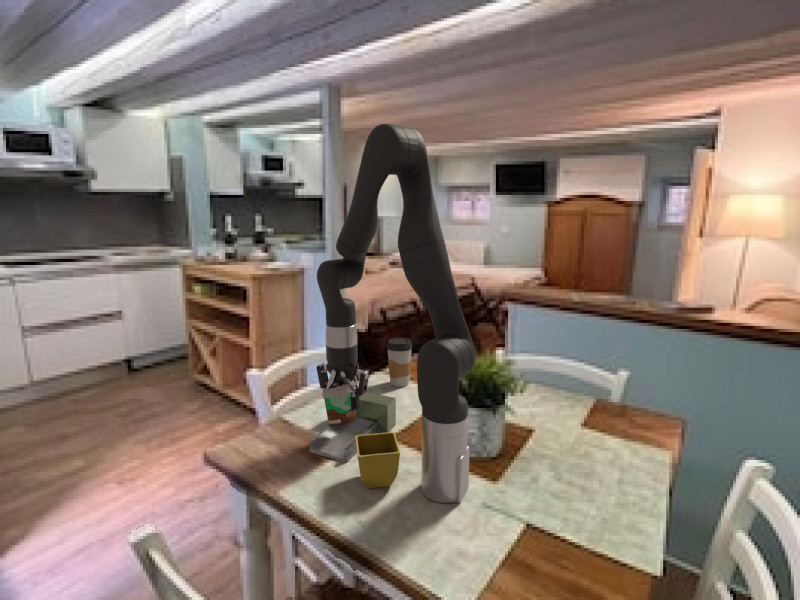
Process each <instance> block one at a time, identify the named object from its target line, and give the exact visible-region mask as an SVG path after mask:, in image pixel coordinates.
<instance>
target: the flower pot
mask: <svg viewBox="0 0 800 600" xmlns="http://www.w3.org/2000/svg"><path fill="white" fill-rule="evenodd" d="M355 439H356V447H357V453H356V454H357V456H356V457H357V461H358V469H359V475H360V478H361V481H362V482H363V484H364V485H365V487H366V488H367V489H374V488H383V487H390V486H392V485H393V483H394V482H395V480H396V478H397V476H398V472H399V466H400V459H401V458H400V457H401V456H400V455H401V449H400V447H399V444H398V440H397V436H396V433H395V432H394V431H390V432H387V433H383V432H380V433H379V432H378V433H377V434H367V435H358V436H355Z"/></svg>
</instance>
